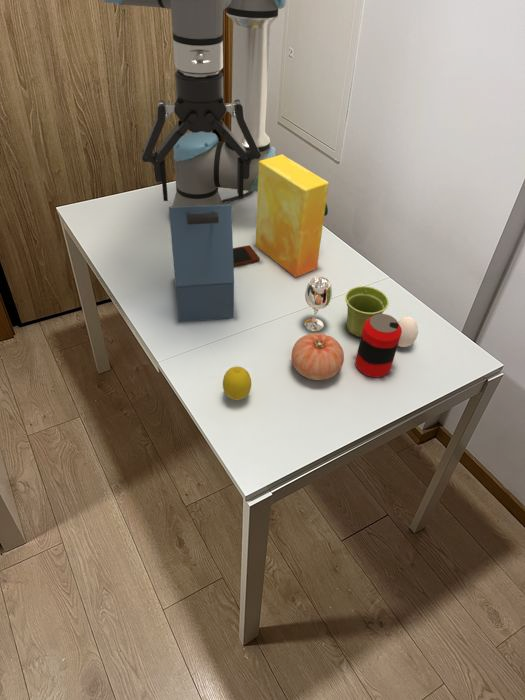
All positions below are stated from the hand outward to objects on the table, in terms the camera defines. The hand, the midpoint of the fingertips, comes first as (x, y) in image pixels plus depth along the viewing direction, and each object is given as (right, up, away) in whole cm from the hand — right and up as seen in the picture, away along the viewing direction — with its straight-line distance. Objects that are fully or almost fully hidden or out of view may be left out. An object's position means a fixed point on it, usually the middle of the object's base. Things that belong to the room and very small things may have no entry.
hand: (203, 196), depth 98 cm
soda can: (+34, -32, +16) cm, 49 cm away
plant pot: (+33, -24, +25) cm, 48 cm away
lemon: (+6, -38, +8) cm, 39 cm away
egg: (+42, -27, +21) cm, 54 cm away
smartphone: (+2, -5, +42) cm, 42 cm away
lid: (-2, -6, +14) cm, 16 cm away
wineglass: (+23, -23, +25) cm, 40 cm away
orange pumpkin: (+22, -32, +15) cm, 42 cm away
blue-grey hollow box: (-3, -16, +30) cm, 34 cm away
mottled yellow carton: (+19, -3, +45) cm, 49 cm away
